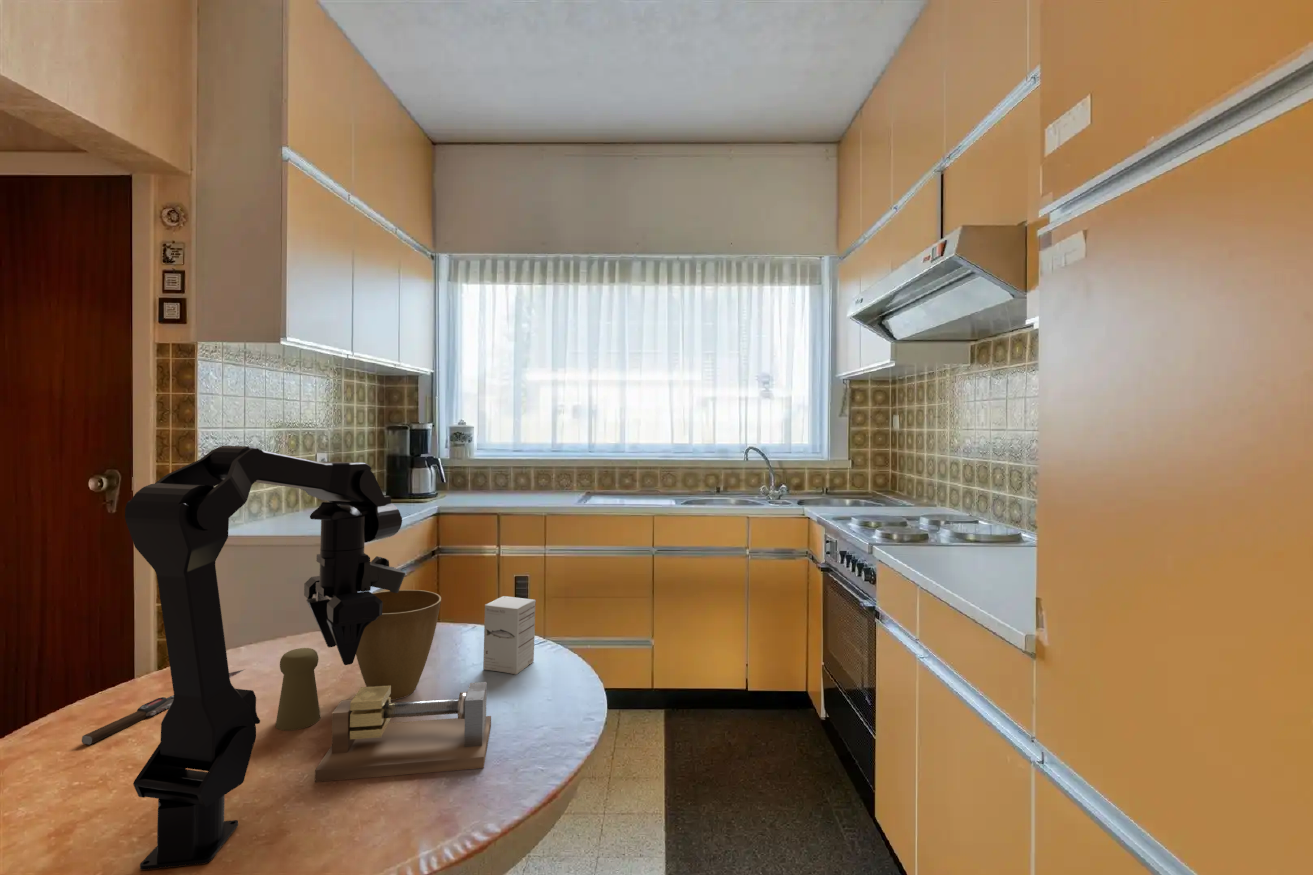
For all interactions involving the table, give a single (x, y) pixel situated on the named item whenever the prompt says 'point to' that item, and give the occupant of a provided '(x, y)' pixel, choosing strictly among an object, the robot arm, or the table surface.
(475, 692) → the bolt
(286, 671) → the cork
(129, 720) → the knife
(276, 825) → the table surface
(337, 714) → the jig
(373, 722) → the nut
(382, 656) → the plant pot
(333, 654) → the table surface
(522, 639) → the supplement box
